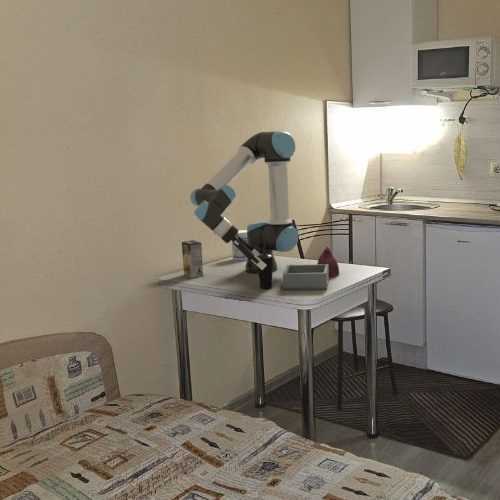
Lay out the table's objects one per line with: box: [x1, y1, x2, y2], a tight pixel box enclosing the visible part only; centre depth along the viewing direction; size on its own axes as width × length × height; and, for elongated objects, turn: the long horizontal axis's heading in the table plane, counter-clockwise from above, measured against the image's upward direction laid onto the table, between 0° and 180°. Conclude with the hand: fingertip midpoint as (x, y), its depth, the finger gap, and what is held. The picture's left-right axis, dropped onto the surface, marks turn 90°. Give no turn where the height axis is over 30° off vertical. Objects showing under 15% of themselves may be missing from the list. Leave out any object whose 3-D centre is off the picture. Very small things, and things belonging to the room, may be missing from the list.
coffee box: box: [181, 239, 204, 279], centre depth 326 cm, size 9×6×16 cm
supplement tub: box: [231, 229, 248, 262], centre depth 359 cm, size 10×10×15 cm
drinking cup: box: [257, 241, 275, 290], centre depth 294 cm, size 8×8×20 cm
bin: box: [282, 263, 330, 291], centre depth 296 cm, size 18×18×7 cm
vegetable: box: [316, 246, 340, 278], centre depth 311 cm, size 10×10×15 cm
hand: (263, 264), depth 293 cm, fingers open, 13 cm apart
